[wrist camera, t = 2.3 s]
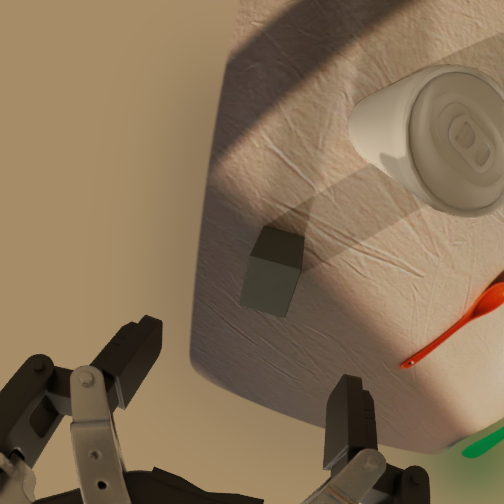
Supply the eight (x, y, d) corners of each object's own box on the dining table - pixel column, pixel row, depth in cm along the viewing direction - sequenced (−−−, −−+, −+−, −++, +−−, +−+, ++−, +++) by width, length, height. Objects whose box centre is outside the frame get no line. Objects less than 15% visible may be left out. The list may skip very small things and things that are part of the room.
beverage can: (372, 80, 16) (448, 28, 5) (428, 126, 16) (546, 142, 5) (333, 136, 18) (364, 151, 7) (390, 180, 18) (475, 253, 7)
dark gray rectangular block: (253, 268, 23) (237, 305, 18) (263, 225, 21) (249, 254, 17) (291, 279, 22) (284, 318, 18) (304, 236, 21) (301, 269, 16)
